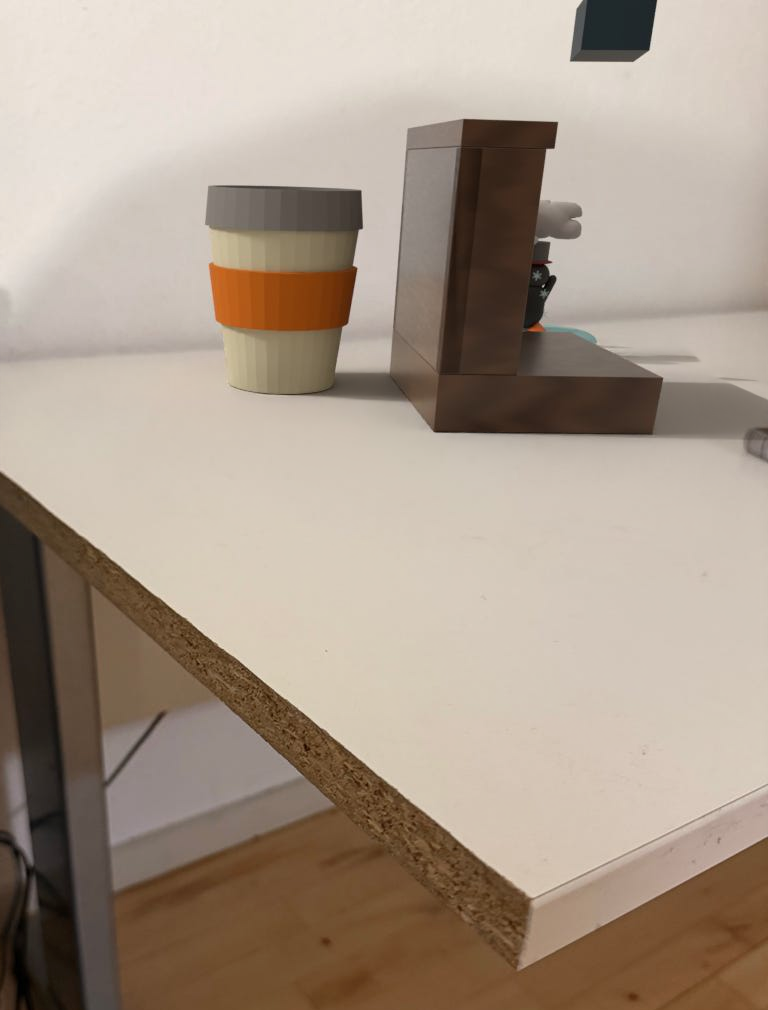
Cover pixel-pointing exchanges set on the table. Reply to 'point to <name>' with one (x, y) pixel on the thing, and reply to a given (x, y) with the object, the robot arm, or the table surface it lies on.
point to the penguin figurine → (559, 226)
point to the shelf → (493, 296)
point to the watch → (612, 30)
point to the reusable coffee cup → (282, 281)
